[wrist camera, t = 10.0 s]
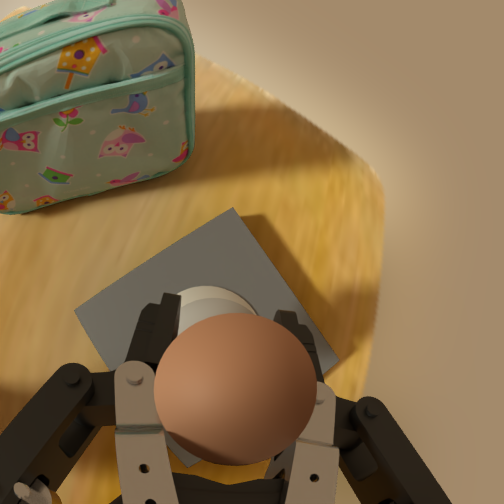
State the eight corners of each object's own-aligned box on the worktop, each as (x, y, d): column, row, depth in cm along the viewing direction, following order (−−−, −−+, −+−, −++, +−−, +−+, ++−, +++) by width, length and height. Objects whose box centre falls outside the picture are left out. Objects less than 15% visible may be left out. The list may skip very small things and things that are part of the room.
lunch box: (-8, 232, 26) (-126, 152, 6) (-3, 160, 28) (-85, 61, 8) (198, 180, 32) (214, 8, 12) (184, 109, 34) (192, -47, 14)
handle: (138, 337, 17) (60, 352, 6) (226, 278, 18) (267, 215, 8) (201, 423, 16) (212, 532, 6) (287, 363, 18) (394, 401, 7)
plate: (84, 311, 27) (73, 310, 24) (229, 217, 32) (233, 206, 29) (187, 455, 25) (187, 468, 22) (327, 357, 30) (340, 360, 27)
